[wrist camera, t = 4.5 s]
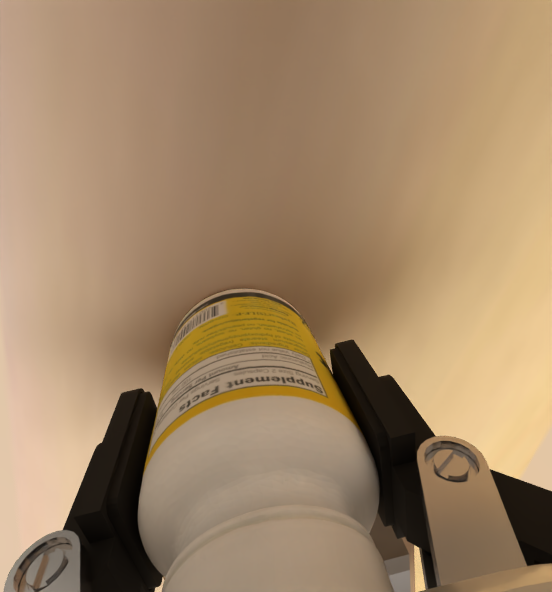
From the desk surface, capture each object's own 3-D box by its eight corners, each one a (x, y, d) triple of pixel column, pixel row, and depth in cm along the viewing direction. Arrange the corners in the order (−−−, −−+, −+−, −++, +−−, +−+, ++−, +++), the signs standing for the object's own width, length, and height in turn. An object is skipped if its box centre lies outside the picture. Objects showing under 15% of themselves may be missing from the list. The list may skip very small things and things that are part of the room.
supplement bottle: (298, 404, 16) (400, 743, 7) (169, 401, 15) (95, 792, 6) (322, 289, 14) (507, 557, 5) (175, 276, 13) (79, 583, 4)
